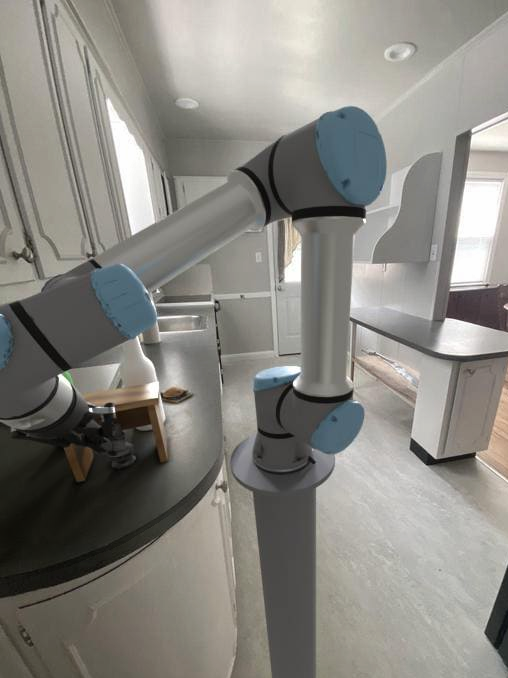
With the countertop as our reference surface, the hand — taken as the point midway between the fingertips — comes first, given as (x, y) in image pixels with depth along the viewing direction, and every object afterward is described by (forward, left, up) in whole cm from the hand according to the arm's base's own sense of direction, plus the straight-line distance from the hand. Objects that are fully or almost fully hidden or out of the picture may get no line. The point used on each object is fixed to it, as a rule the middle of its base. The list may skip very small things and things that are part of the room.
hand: (102, 445), depth 57 cm
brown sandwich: (+14, -49, -14) cm, 52 cm away
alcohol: (+12, -30, -14) cm, 35 cm away
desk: (+8, -13, -13) cm, 20 cm away
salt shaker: (+8, -12, -14) cm, 20 cm away
